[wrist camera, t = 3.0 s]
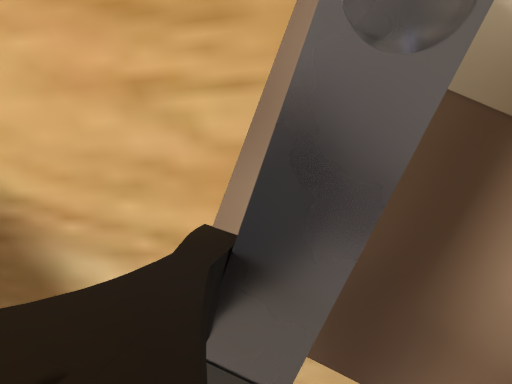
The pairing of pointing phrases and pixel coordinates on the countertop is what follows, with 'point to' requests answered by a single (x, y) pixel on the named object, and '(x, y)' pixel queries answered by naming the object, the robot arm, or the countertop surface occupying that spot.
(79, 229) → the countertop surface
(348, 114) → the folding leg
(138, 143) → the countertop surface
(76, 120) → the countertop surface
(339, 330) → the stool seat
